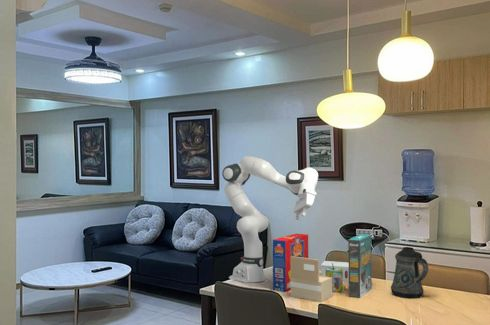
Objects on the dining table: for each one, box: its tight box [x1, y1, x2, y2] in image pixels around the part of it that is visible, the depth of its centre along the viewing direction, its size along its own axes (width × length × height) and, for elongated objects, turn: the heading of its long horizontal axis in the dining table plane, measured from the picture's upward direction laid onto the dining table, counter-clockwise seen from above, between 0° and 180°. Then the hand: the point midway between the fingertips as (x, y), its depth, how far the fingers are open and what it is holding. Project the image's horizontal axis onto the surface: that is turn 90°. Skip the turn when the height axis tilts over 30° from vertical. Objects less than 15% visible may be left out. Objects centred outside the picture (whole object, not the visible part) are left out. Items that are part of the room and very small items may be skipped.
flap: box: [291, 256, 320, 282], centre depth 246 cm, size 16×1×11 cm, turn 53°
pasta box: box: [272, 233, 309, 293], centre depth 274 cm, size 28×8×28 cm, turn 146°
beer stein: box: [390, 246, 429, 300], centre depth 254 cm, size 16×19×25 cm
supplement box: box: [320, 260, 349, 283], centre depth 291 cm, size 17×13×9 cm
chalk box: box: [326, 263, 344, 293], centre depth 265 cm, size 9×9×15 cm
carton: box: [290, 274, 333, 303], centre depth 252 cm, size 18×12×10 cm
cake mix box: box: [347, 233, 373, 299], centre depth 259 cm, size 22×6×30 cm, turn 150°
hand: (300, 217), depth 265 cm, fingers open, 8 cm apart
